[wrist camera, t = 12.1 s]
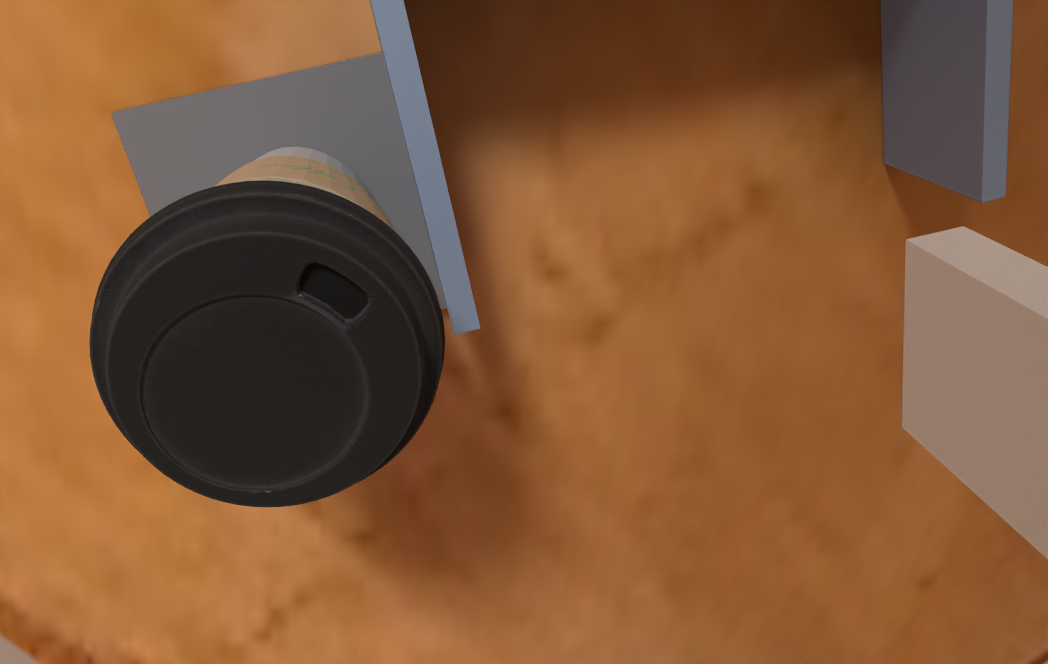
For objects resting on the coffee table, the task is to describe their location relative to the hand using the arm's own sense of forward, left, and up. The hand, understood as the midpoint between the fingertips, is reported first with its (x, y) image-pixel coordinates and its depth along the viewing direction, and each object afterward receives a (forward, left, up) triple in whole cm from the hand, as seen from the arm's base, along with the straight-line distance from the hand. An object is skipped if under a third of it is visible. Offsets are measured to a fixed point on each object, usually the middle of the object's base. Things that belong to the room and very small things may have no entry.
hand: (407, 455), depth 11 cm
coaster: (+4, -4, -28) cm, 28 cm away
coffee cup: (+4, -4, -27) cm, 28 cm away
